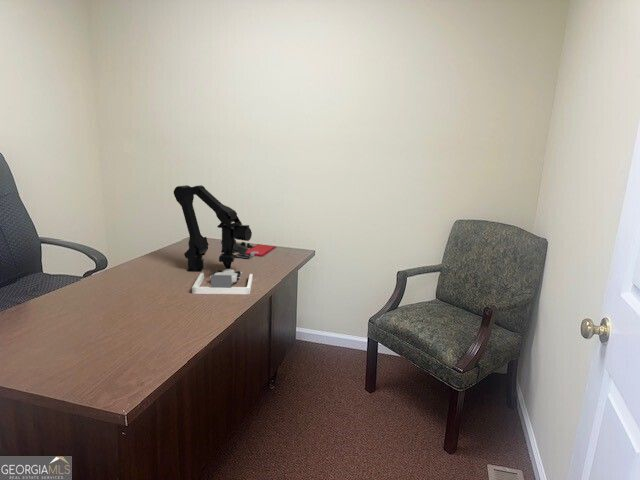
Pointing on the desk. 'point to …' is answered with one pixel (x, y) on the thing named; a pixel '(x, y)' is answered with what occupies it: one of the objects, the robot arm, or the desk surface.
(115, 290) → the desk surface
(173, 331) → the desk surface
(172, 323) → the desk surface
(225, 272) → the robot toy
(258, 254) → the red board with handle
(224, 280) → the frame
